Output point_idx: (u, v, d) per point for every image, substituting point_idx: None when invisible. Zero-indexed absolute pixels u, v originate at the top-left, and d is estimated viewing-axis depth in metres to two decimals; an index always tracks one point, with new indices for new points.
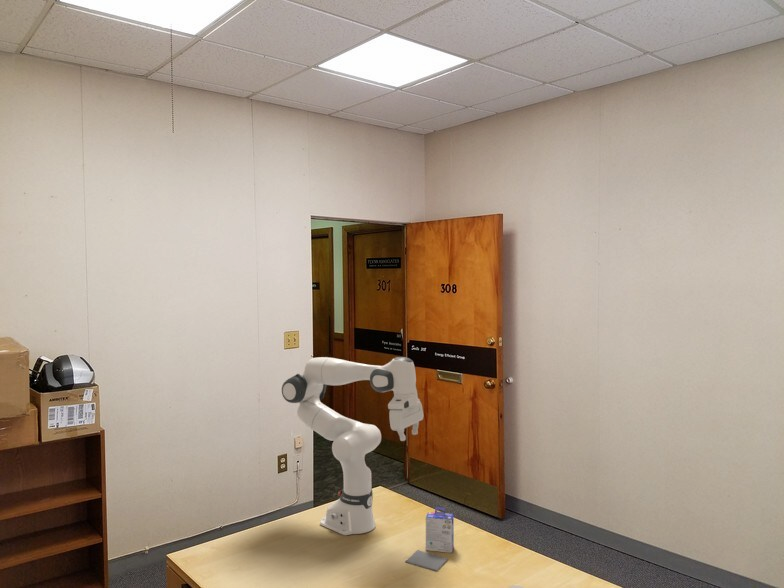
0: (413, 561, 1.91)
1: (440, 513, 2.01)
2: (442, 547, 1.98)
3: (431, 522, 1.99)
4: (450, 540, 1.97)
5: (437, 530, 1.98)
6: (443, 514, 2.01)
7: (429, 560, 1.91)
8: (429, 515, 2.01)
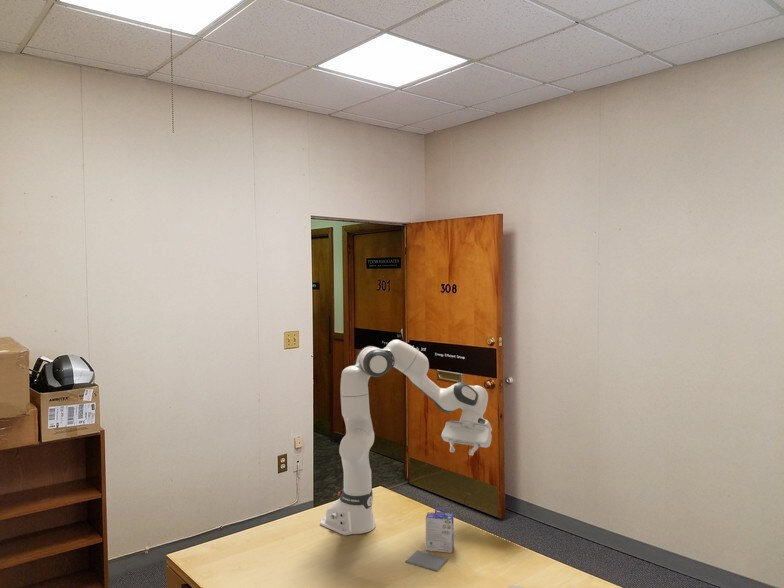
0: (413, 561, 1.91)
1: (440, 513, 2.01)
2: (442, 547, 1.98)
3: (431, 522, 1.99)
4: (450, 540, 1.97)
5: (437, 530, 1.98)
6: (443, 514, 2.01)
7: (429, 560, 1.91)
8: (429, 515, 2.01)
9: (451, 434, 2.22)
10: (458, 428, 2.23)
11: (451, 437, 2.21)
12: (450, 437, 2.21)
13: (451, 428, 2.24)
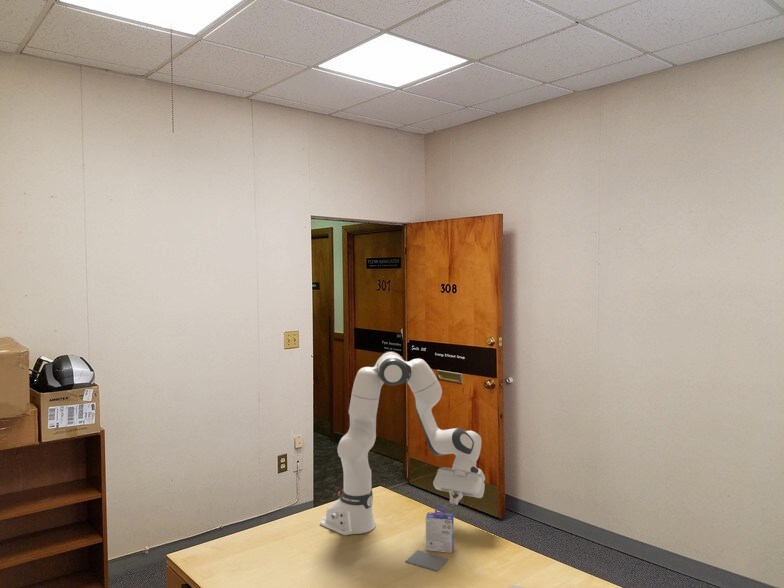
0: (413, 561, 1.91)
1: (440, 513, 2.01)
2: (442, 547, 1.98)
3: (431, 522, 1.99)
4: (450, 540, 1.97)
5: (437, 530, 1.98)
6: (443, 514, 2.01)
7: (429, 560, 1.91)
8: (430, 515, 2.01)
9: (443, 483, 2.16)
10: (450, 477, 2.17)
11: (443, 486, 2.15)
12: (442, 486, 2.15)
13: (443, 476, 2.18)
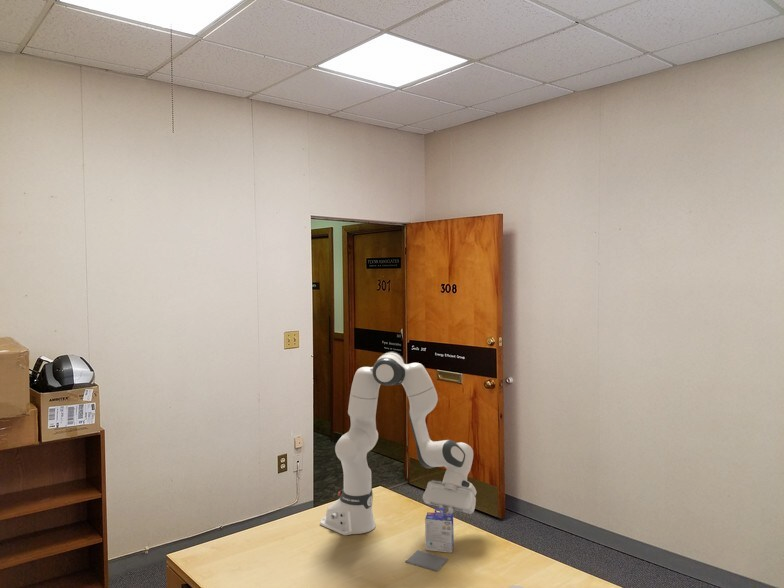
0: (413, 561, 1.91)
1: (440, 514, 2.00)
2: (442, 547, 1.98)
3: (431, 523, 1.98)
4: (450, 541, 1.97)
5: (436, 531, 1.98)
6: (443, 515, 1.99)
7: (429, 560, 1.91)
8: (429, 515, 2.00)
9: (432, 497, 2.08)
10: (441, 491, 2.09)
11: (433, 500, 2.08)
12: (432, 500, 2.08)
13: (433, 490, 2.11)
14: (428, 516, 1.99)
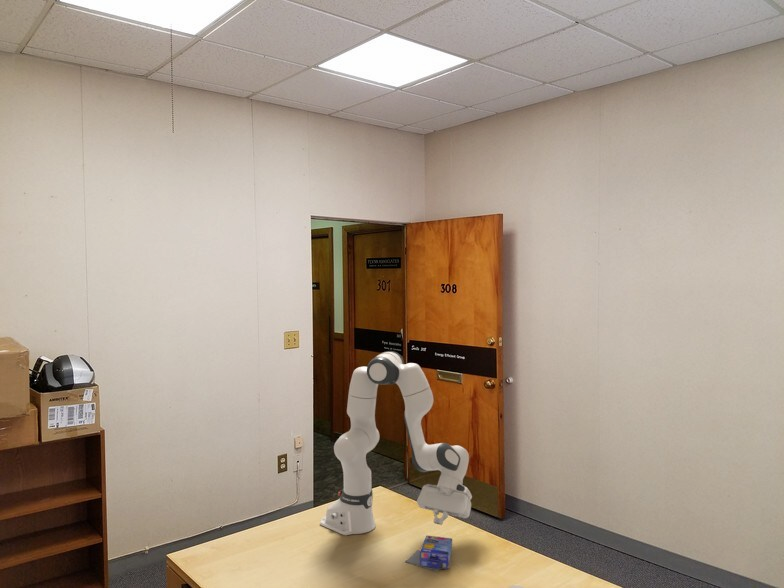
0: (413, 561, 1.91)
1: (434, 560, 1.86)
2: None
3: None
4: None
5: None
6: (437, 560, 1.85)
7: None
8: (423, 560, 1.87)
9: (427, 501, 2.04)
10: (435, 495, 2.05)
11: (427, 505, 2.03)
12: (426, 504, 2.04)
13: (427, 494, 2.07)
14: (422, 561, 1.87)
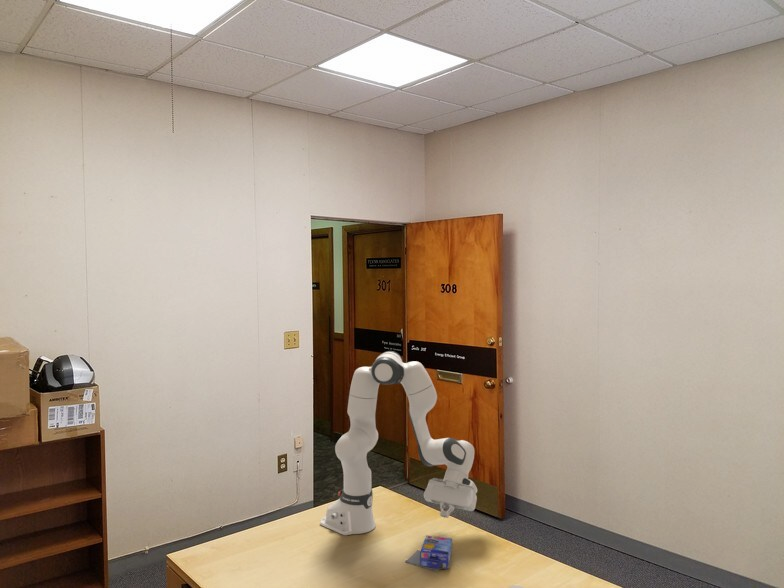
0: (413, 561, 1.91)
1: (434, 560, 1.86)
2: None
3: None
4: None
5: None
6: (437, 560, 1.85)
7: None
8: (423, 560, 1.87)
9: (433, 495, 2.09)
10: (442, 488, 2.10)
11: (434, 498, 2.08)
12: (433, 498, 2.08)
13: (434, 488, 2.11)
14: (422, 561, 1.87)
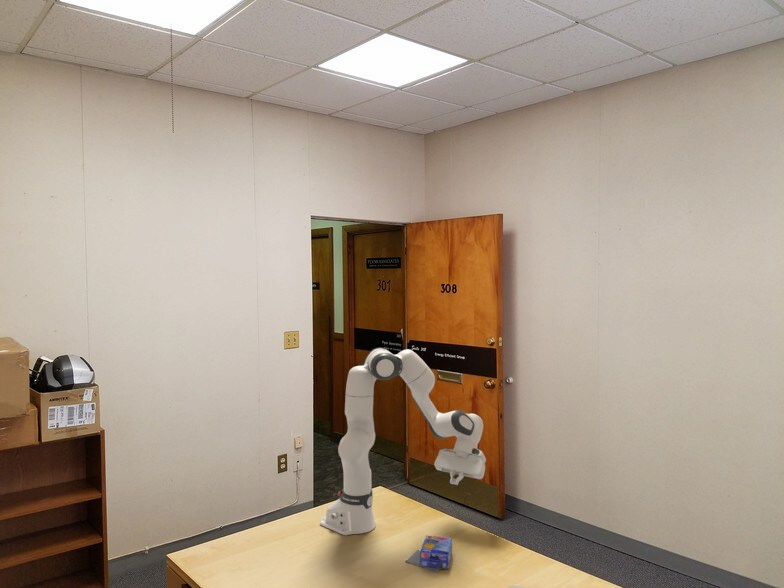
0: (413, 561, 1.91)
1: (434, 560, 1.86)
2: None
3: None
4: None
5: None
6: (437, 560, 1.85)
7: None
8: (423, 560, 1.87)
9: (444, 464, 2.19)
10: (452, 458, 2.20)
11: (444, 466, 2.18)
12: (443, 466, 2.18)
13: (444, 457, 2.21)
14: (422, 561, 1.87)
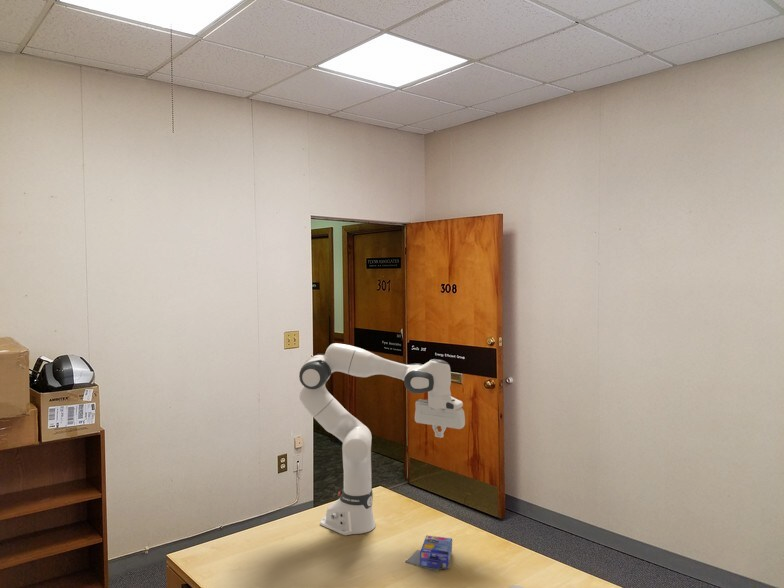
0: (413, 561, 1.91)
1: (434, 560, 1.86)
2: None
3: None
4: None
5: None
6: (437, 560, 1.85)
7: None
8: (423, 560, 1.87)
9: (424, 420, 2.14)
10: (429, 412, 2.13)
11: (425, 422, 2.14)
12: (424, 422, 2.14)
13: (422, 412, 2.15)
14: (422, 561, 1.87)
